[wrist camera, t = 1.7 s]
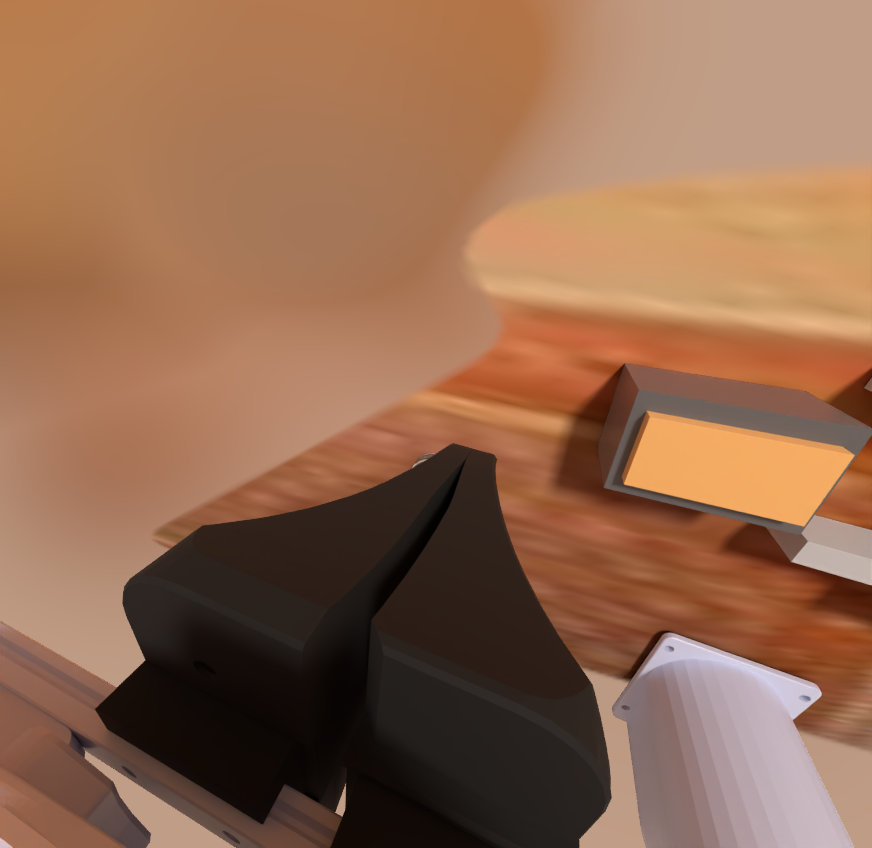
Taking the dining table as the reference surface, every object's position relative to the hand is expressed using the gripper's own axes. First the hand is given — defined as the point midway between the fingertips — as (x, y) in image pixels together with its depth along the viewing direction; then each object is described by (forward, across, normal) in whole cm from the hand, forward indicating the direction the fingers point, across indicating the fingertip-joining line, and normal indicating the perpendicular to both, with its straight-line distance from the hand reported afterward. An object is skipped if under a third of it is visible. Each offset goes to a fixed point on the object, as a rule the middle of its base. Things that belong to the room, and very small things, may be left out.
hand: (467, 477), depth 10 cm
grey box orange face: (+10, -8, 0) cm, 13 cm away
